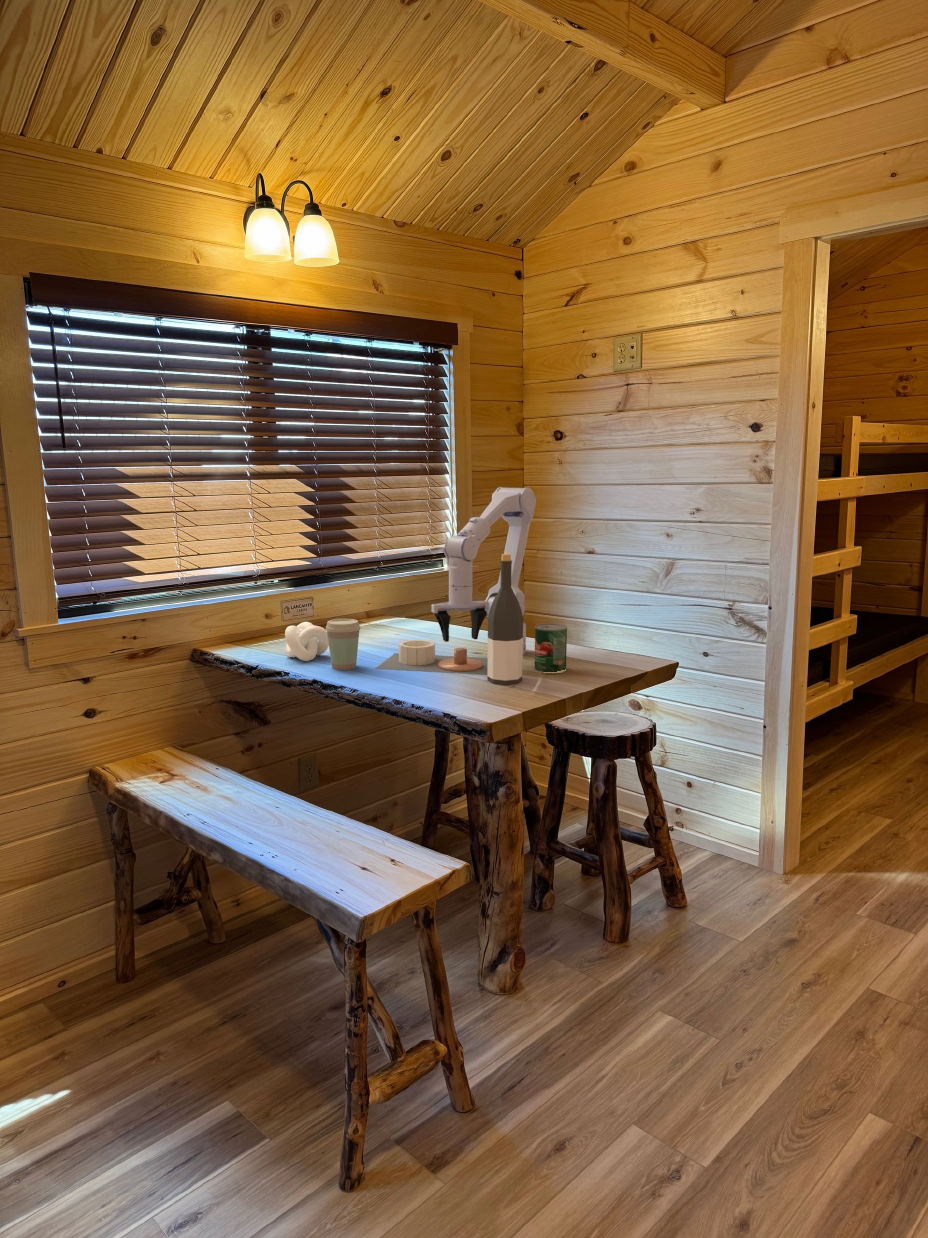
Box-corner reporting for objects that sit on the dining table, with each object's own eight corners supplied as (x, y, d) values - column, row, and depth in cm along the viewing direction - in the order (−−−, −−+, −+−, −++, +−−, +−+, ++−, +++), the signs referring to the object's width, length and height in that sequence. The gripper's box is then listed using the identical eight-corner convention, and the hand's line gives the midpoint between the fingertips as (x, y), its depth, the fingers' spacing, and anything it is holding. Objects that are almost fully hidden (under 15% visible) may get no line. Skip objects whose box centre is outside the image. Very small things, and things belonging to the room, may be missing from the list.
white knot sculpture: (313, 665, 211) (312, 630, 210) (272, 661, 215) (270, 627, 213) (334, 655, 222) (333, 622, 220) (294, 652, 226) (293, 619, 224)
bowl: (438, 657, 217) (438, 640, 217) (429, 666, 209) (429, 648, 208) (405, 656, 219) (404, 639, 218) (395, 664, 211) (394, 646, 210)
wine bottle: (480, 682, 196) (481, 554, 190) (503, 676, 201) (505, 551, 195) (505, 689, 190) (507, 557, 184) (529, 682, 195) (531, 554, 190)
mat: (499, 660, 217) (499, 658, 217) (486, 676, 200) (486, 674, 200) (395, 655, 223) (394, 653, 222) (374, 670, 206) (374, 668, 206)
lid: (486, 662, 213) (486, 645, 212) (477, 672, 202) (477, 655, 201) (444, 660, 215) (444, 643, 214) (433, 670, 205) (433, 653, 204)
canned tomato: (571, 668, 208) (572, 625, 206) (558, 675, 202) (559, 630, 200) (542, 664, 212) (543, 622, 210) (528, 671, 206) (529, 627, 204)
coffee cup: (366, 666, 211) (365, 619, 209) (353, 674, 203) (352, 625, 200) (335, 663, 213) (334, 617, 211) (320, 671, 205) (319, 623, 203)
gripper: (481, 581, 211) (480, 634, 214) (427, 584, 206) (427, 638, 208) (492, 585, 205) (492, 639, 207) (437, 588, 199) (437, 644, 202)
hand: (460, 639), depth 207 cm, fingers open, 7 cm apart
